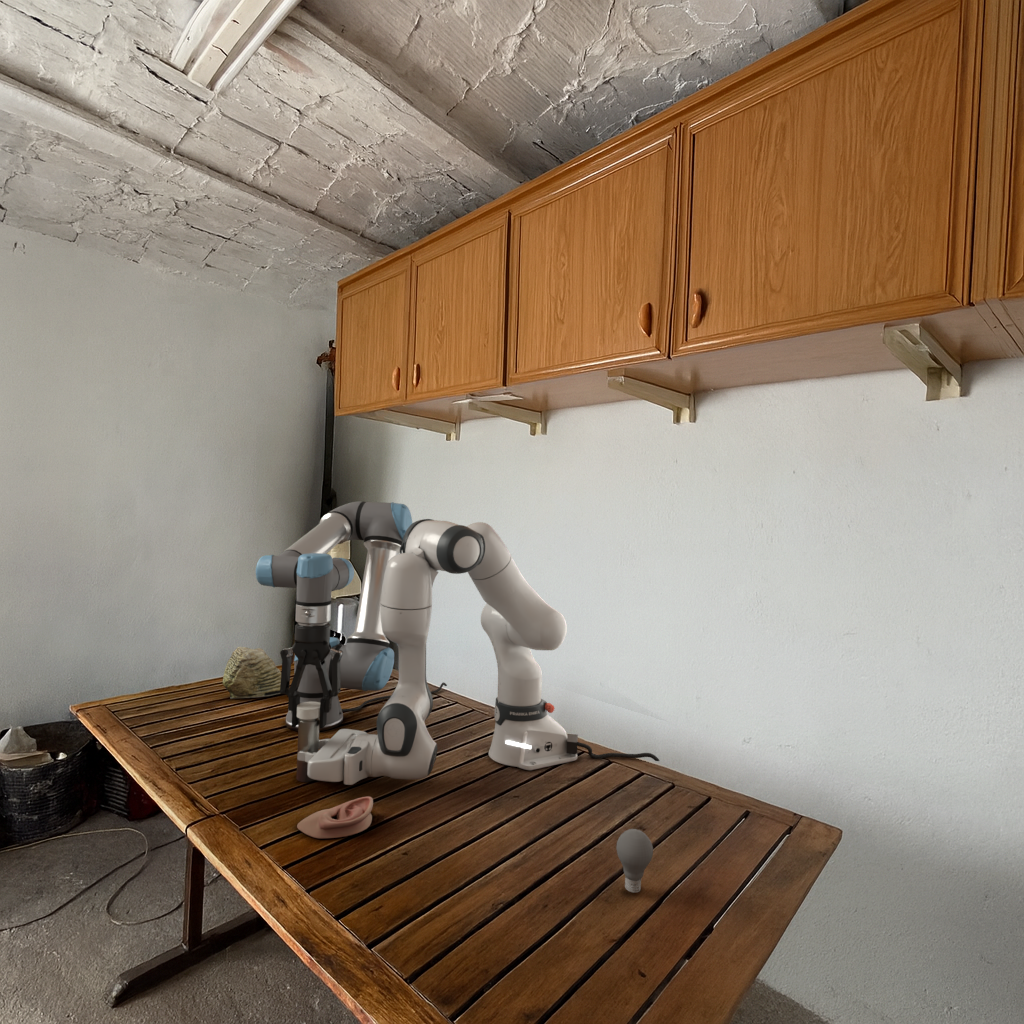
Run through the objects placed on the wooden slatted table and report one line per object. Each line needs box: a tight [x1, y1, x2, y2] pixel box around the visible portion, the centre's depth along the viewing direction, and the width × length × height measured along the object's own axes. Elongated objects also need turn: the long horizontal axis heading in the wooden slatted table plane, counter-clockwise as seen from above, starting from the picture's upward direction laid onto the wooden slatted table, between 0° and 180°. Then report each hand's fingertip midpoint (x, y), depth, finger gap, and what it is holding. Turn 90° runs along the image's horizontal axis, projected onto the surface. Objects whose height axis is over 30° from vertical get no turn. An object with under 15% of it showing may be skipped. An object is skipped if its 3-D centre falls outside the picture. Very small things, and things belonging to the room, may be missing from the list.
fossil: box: [222, 646, 281, 699], centre depth 198 cm, size 9×18×15 cm, turn 132°
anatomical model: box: [296, 796, 374, 840], centre depth 123 cm, size 13×4×12 cm
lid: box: [297, 702, 320, 720], centre depth 142 cm, size 6×6×2 cm
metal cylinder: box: [296, 718, 320, 783], centre depth 142 cm, size 4×4×15 cm
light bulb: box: [615, 828, 654, 894], centre depth 106 cm, size 6×6×10 cm
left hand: (309, 725), depth 142 cm, fingers closed on lid, 5 cm apart
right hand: (304, 749), depth 142 cm, fingers closed on metal cylinder, 4 cm apart
